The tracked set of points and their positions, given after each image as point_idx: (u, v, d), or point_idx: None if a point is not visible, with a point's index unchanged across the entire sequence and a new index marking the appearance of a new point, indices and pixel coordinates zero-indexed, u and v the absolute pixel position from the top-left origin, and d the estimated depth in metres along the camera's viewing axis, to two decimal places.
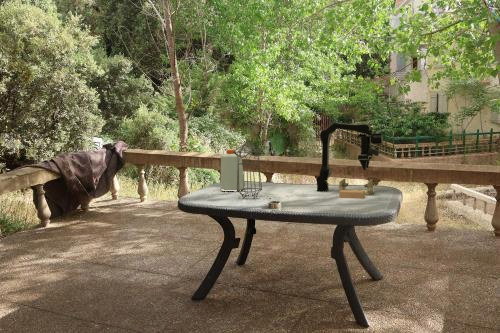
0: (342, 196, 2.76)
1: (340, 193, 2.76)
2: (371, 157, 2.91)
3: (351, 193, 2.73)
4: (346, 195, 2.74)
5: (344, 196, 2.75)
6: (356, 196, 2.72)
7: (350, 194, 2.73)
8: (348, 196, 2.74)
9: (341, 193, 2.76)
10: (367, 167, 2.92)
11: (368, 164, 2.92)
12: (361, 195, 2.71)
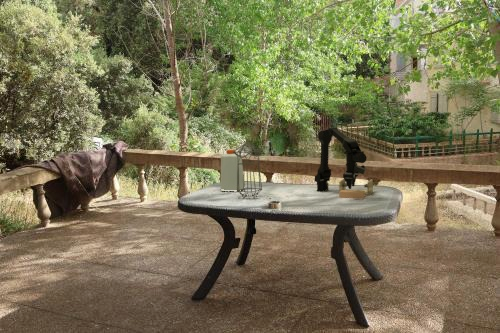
0: (342, 196, 2.76)
1: (340, 193, 2.76)
2: (357, 175, 2.78)
3: (351, 193, 2.73)
4: (346, 195, 2.74)
5: (344, 196, 2.75)
6: (356, 196, 2.72)
7: (350, 194, 2.73)
8: (348, 196, 2.74)
9: (341, 193, 2.76)
10: (353, 185, 2.79)
11: (354, 182, 2.79)
12: (361, 195, 2.71)
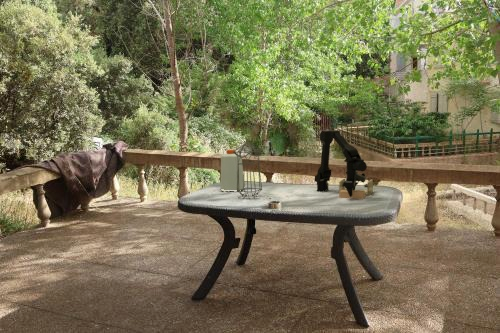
0: (342, 196, 2.76)
1: (340, 193, 2.76)
2: (357, 183, 2.78)
3: None
4: (346, 195, 2.74)
5: (344, 196, 2.75)
6: (356, 196, 2.72)
7: None
8: (348, 196, 2.74)
9: (341, 193, 2.76)
10: None
11: None
12: (361, 195, 2.71)
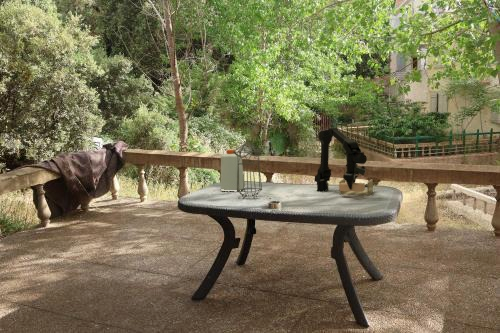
0: (342, 188, 2.75)
1: (340, 185, 2.75)
2: (357, 176, 2.77)
3: None
4: (346, 188, 2.74)
5: (344, 188, 2.74)
6: (356, 188, 2.71)
7: None
8: (348, 188, 2.73)
9: (341, 185, 2.75)
10: None
11: None
12: (361, 187, 2.70)
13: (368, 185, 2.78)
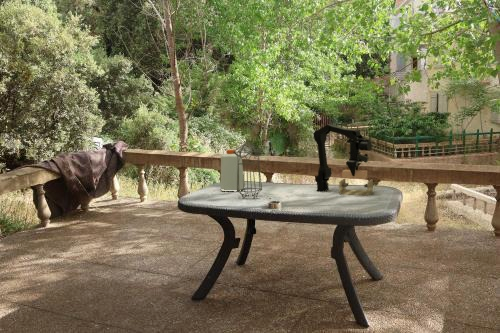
0: (345, 175, 2.83)
1: (343, 172, 2.84)
2: (360, 163, 2.85)
3: None
4: (349, 174, 2.82)
5: (347, 175, 2.83)
6: (359, 175, 2.80)
7: None
8: (351, 175, 2.82)
9: (344, 172, 2.83)
10: None
11: None
12: (364, 174, 2.78)
13: (368, 185, 2.78)
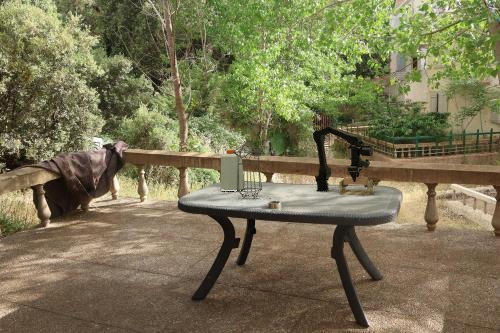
0: (346, 182, 2.87)
1: (345, 179, 2.87)
2: (361, 169, 2.90)
3: None
4: (351, 181, 2.85)
5: (349, 182, 2.86)
6: (360, 182, 2.83)
7: None
8: (352, 182, 2.85)
9: (346, 179, 2.87)
10: None
11: (358, 176, 2.90)
12: (365, 181, 2.82)
13: (368, 185, 2.78)
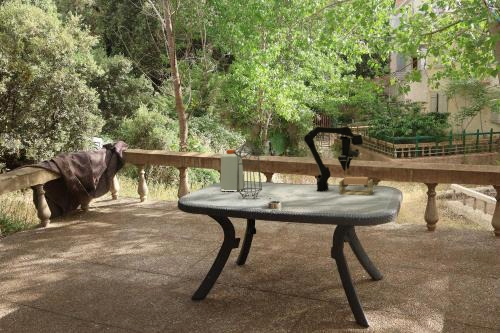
0: (346, 182, 2.87)
1: (345, 179, 2.87)
2: (352, 158, 3.04)
3: (355, 179, 2.84)
4: (351, 181, 2.85)
5: (349, 182, 2.86)
6: (360, 182, 2.83)
7: (354, 180, 2.84)
8: (352, 182, 2.85)
9: (346, 179, 2.87)
10: (348, 168, 3.05)
11: (349, 165, 3.05)
12: (365, 181, 2.82)
13: (368, 185, 2.78)
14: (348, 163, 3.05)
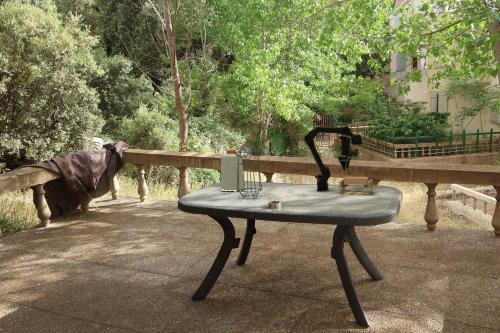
0: (346, 182, 2.87)
1: (345, 179, 2.87)
2: (351, 158, 3.05)
3: (355, 179, 2.84)
4: (351, 181, 2.85)
5: (349, 182, 2.86)
6: (360, 182, 2.83)
7: (354, 180, 2.84)
8: (352, 182, 2.85)
9: (346, 179, 2.87)
10: (347, 168, 3.06)
11: (348, 165, 3.05)
12: (365, 181, 2.82)
13: (368, 185, 2.78)
14: (347, 163, 3.06)
